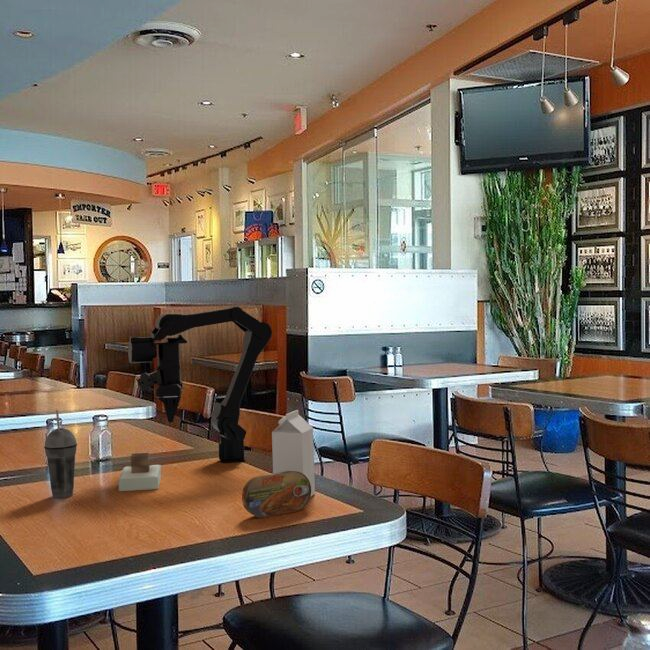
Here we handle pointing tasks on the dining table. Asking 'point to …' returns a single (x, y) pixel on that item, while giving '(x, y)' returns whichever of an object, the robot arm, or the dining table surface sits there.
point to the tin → (276, 494)
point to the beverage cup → (61, 460)
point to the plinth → (140, 479)
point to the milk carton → (294, 447)
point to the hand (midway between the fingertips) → (171, 419)
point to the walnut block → (140, 463)
